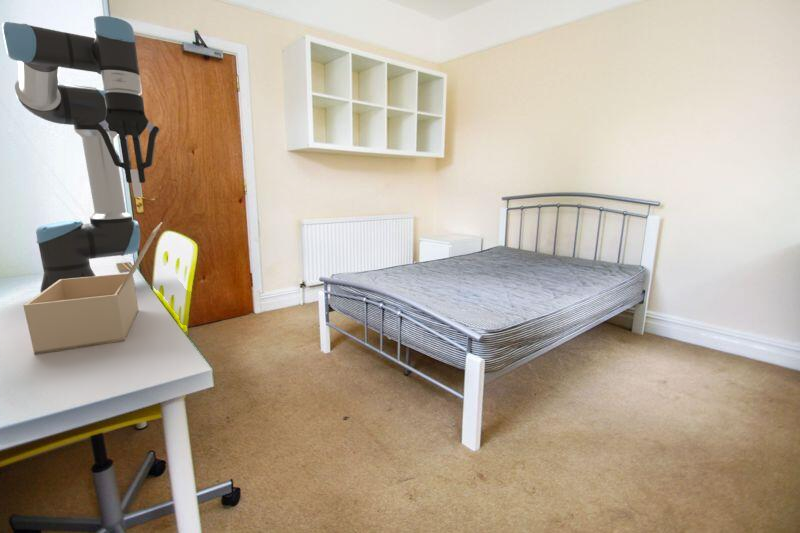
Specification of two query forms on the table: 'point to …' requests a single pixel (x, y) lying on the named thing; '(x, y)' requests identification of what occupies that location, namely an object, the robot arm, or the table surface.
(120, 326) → the carton
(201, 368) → the table surface
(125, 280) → the carton lid
